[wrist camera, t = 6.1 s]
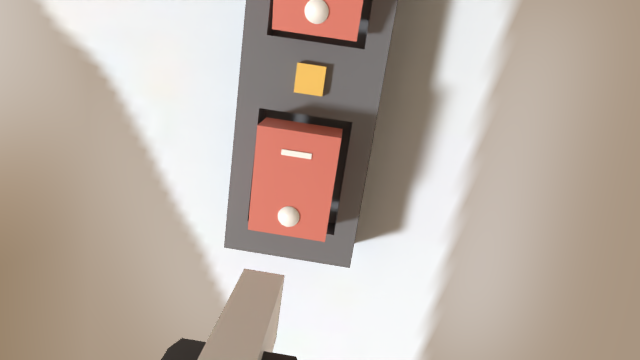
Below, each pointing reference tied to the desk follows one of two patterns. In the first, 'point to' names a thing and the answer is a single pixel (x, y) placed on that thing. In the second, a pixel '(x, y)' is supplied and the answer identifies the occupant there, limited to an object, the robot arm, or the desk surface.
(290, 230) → the rocker
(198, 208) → the desk surface
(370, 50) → the power strip
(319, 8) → the rocker
